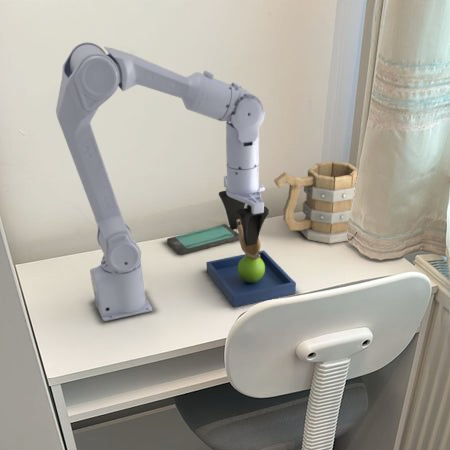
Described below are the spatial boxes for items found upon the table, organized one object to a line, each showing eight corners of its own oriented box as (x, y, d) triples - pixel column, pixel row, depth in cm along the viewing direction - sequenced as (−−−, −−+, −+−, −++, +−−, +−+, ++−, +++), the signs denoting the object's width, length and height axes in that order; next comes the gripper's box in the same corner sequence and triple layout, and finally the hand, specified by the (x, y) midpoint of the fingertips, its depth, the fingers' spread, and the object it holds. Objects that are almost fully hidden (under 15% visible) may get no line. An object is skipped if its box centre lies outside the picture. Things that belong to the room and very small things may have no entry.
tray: (295, 293, 124) (296, 283, 122) (233, 307, 120) (233, 296, 119) (263, 260, 135) (263, 250, 133) (206, 272, 132) (206, 261, 130)
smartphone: (165, 237, 142) (225, 222, 147) (166, 243, 143) (225, 227, 148) (179, 250, 137) (240, 234, 142) (179, 256, 138) (240, 239, 143)
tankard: (341, 216, 151) (347, 151, 142) (366, 237, 142) (374, 170, 132) (262, 229, 147) (263, 163, 137) (283, 252, 137) (285, 184, 128)
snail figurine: (249, 270, 131) (248, 214, 123) (270, 281, 127) (271, 224, 119) (229, 279, 128) (227, 222, 120) (250, 290, 124) (249, 232, 116)
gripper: (280, 174, 108) (278, 247, 117) (247, 148, 119) (248, 218, 127) (242, 180, 106) (242, 255, 115) (212, 154, 117) (215, 224, 125)
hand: (243, 236), depth 121 cm, fingers open, 7 cm apart
